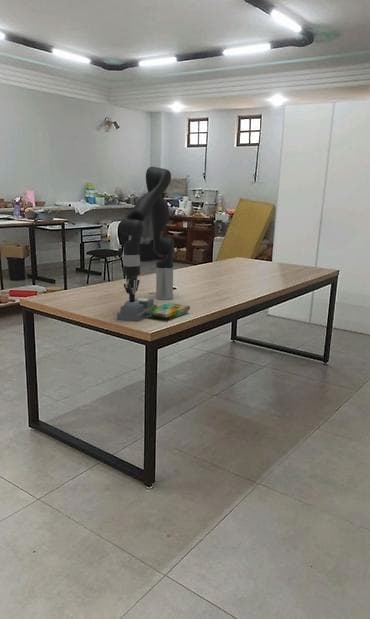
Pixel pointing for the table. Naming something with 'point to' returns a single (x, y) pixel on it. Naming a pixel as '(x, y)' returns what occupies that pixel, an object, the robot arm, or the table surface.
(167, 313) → the puzzle game
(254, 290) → the table surface
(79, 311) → the table surface
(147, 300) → the white key
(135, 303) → the blue key
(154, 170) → the robot arm
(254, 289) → the table surface
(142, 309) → the grey plastic block
